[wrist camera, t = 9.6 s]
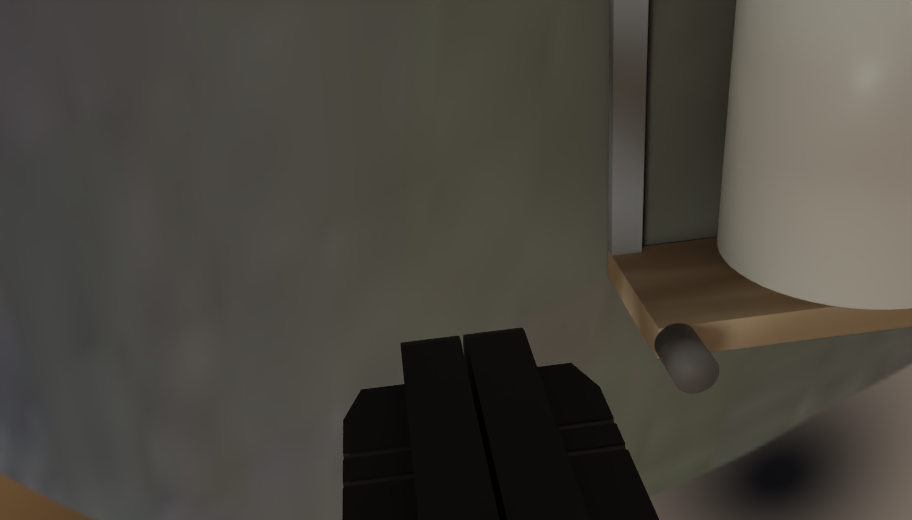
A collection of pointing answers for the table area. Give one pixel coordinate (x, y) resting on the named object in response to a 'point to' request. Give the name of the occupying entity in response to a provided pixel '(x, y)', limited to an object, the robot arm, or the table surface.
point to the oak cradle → (691, 251)
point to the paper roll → (821, 151)
